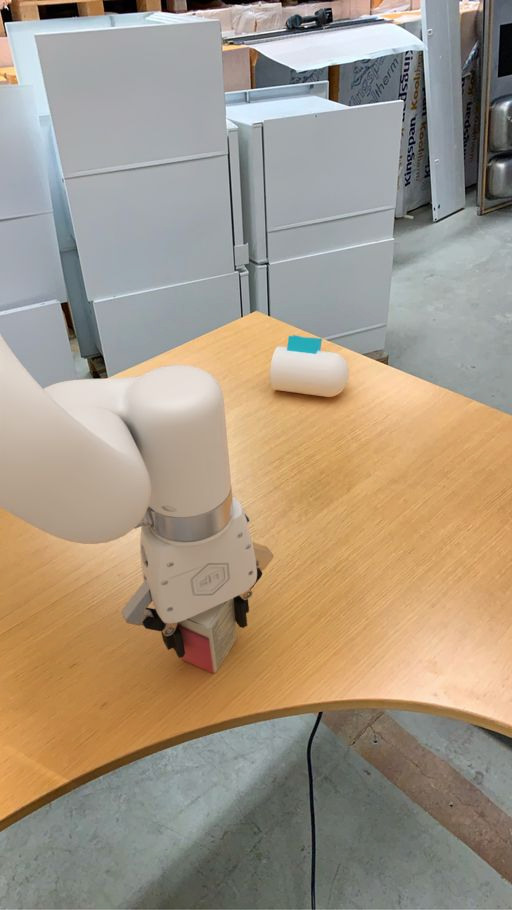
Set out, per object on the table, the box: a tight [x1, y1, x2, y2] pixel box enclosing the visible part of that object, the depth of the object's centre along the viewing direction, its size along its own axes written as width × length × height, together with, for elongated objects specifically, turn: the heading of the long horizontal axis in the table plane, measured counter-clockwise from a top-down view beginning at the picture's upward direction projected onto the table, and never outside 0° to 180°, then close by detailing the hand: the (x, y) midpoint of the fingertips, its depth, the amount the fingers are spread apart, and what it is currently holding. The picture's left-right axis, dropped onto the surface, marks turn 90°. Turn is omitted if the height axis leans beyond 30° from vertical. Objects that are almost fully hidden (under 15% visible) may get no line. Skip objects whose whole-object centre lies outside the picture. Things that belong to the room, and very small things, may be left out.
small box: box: [177, 598, 238, 674], centre depth 67 cm, size 5×4×8 cm
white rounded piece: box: [269, 334, 350, 398], centre depth 108 cm, size 12×9×12 cm
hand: (207, 631), depth 67 cm, fingers closed on small box, 6 cm apart
